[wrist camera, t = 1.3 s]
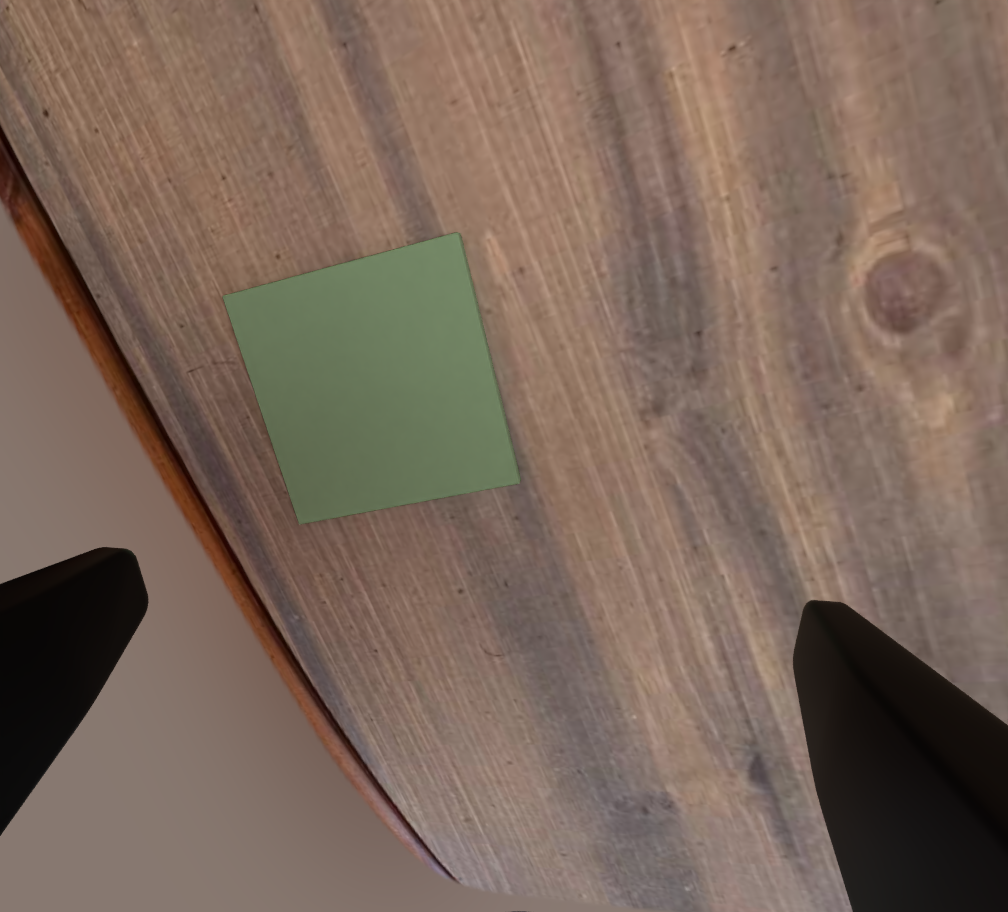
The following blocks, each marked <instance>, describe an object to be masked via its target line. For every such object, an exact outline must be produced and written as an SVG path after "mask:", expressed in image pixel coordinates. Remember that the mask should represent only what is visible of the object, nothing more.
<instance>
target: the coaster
mask: <svg viewBox="0 0 1008 912" xmlns="http://www.w3.org/2000/svg"><path fill="white" fill-rule="evenodd" d="M223 300H224V303H225V306H226V309H227V312H228V315H229V318H230V321H231V324H232V327H233V330H234V333H235V336H236V339H237V342H238V345H239V348H240V351H241V353H242V356H243V359H244V362H245V365H246V368H247V371H248V374H249V377H250V380H251V383H252V386H253V389H254V392H255V395H256V398H257V401H258V404H259V407H260V410H261V413H262V416H263V419H264V422H265V425H266V428H267V431H268V434H269V437H270V440H271V443H272V446H273V449H274V452H275V454H276V457H277V460H278V463H279V466H280V469H281V472H282V475H283V478H284V481H285V484H286V487H287V490H288V493H289V496H290V499H291V502H292V505H293V508H294V511H295V514H296V517H297V520H298V523H299V524H305V523H310V522H316V521H321V520H327V519H332V518H337V517H343V516H348V515H353V514H359V513H364V512H370V511H375V510H380V509H386V508H391V507H396V506H402V505H407V504H412V503H418V502H423V501H429V500H434V499H439V498H445V497H450V496H455V495H461V494H466V493H471V492H477V491H482V490H488V489H493V488H498V487H504V486H509V485H514V484H519V483H520V481H521V478H520V474H519V470H518V466H517V462H516V457H515V453H514V449H513V445H512V441H511V437H510V433H509V429H508V425H507V421H506V417H505V413H504V408H503V404H502V400H501V396H500V392H499V388H498V384H497V380H496V376H495V372H494V368H493V364H492V360H491V355H490V351H489V347H488V343H487V339H486V335H485V331H484V327H483V323H482V319H481V315H480V311H479V307H478V302H477V298H476V294H475V290H474V286H473V282H472V278H471V274H470V270H469V266H468V262H467V258H466V253H465V249H464V245H463V241H462V237H461V234H460V233H458V232H456V233H452V234H449V235H445V236H441V237H438V238H434V239H430V240H427V241H423V242H419V243H415V244H412V245H408V246H404V247H401V248H397V249H393V250H390V251H386V252H382V253H379V254H375V255H371V256H368V257H364V258H360V259H357V260H353V261H349V262H346V263H342V264H338V265H335V266H331V267H327V268H323V269H320V270H316V271H312V272H309V273H305V274H301V275H298V276H294V277H290V278H287V279H283V280H279V281H276V282H272V283H268V284H265V285H261V286H257V287H254V288H250V289H246V290H243V291H239V292H235V293H231V294H228V295H224V296H223Z"/></svg>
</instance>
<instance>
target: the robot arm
mask: <svg viewBox="0 0 1008 912" xmlns="http://www.w3.org/2000/svg"><path fill="white" fill-rule="evenodd" d="M147 607H148V594H147V591H146V587H145V584H144V581H143V577H142V574H141V571H140V567H139V564H138V561H137V558H136V556H135V555H134V554H133V552H132V551H130V550H128V549H123V548H109V547H102V548H97V549H94V550H91V551H89V552H86V553H83V554H80V555H78V556H75V557H73V558H70V559H67V560H64V561H62V562H59V563H56V564H54V565H51V566H48V567H45V568H43V569H40V570H37V571H34V572H32V573H29V574H26V575H24V576H21V577H18V578H15V579H13V580H10V581H7V582H5V583H2V584H0V836H1V834H2V833H3V831H4V830H5V828H6V827H7V825H8V824H9V823H10V821H11V820H12V819H13V817H14V816H15V814H16V813H17V812H18V810H19V809H20V807H21V806H22V805H23V803H24V802H25V800H26V799H27V797H28V796H29V794H30V793H31V792H32V790H33V789H34V788H35V786H36V785H37V783H38V782H39V781H40V779H41V778H42V776H43V775H44V774H45V772H46V771H47V769H48V768H49V767H50V765H51V764H52V762H53V761H54V759H55V758H56V756H57V755H58V754H59V752H60V751H61V750H62V748H63V747H64V745H65V744H66V743H67V741H68V739H69V738H70V737H71V736H72V734H73V733H74V731H75V730H76V728H77V727H78V726H79V724H80V723H81V721H82V720H83V718H84V717H85V715H86V714H87V712H88V711H89V709H90V707H91V706H92V704H93V703H94V701H95V700H96V698H97V696H98V695H99V693H100V691H101V690H102V688H103V686H104V685H105V683H106V681H107V679H108V678H109V676H110V674H111V672H112V671H113V669H114V667H115V666H116V664H117V662H118V660H119V659H120V657H121V655H122V654H123V652H124V650H125V648H126V647H127V645H128V643H129V641H130V640H131V638H132V636H133V635H134V633H135V631H136V629H137V628H138V626H139V624H140V623H141V621H142V619H143V617H144V615H145V613H146V611H147ZM793 670H794V676H795V682H796V687H797V692H798V698H799V703H800V708H801V714H802V719H803V725H804V730H805V735H806V741H807V746H808V752H809V757H810V762H811V768H812V773H813V777H814V782H815V787H816V791H817V795H818V799H819V802H820V806H821V809H822V813H823V816H824V819H825V823H826V826H827V829H828V832H829V836H830V839H831V842H832V845H833V849H834V852H835V855H836V858H837V862H838V865H839V868H840V871H841V874H842V878H843V881H844V884H845V887H846V891H847V894H848V897H849V900H850V904H851V907H852V910H853V912H1008V725H1007V724H1005V723H1004V722H1003V721H1001V720H1000V719H999V718H997V717H996V716H995V715H993V714H992V713H991V712H989V711H988V710H987V709H985V708H984V707H983V706H981V705H980V704H979V703H977V702H976V701H975V700H973V699H972V698H971V697H969V696H968V695H967V694H965V693H964V692H963V691H961V690H960V689H959V688H957V687H956V686H955V685H953V684H952V683H951V682H949V681H948V680H947V679H945V678H944V677H943V676H941V675H940V674H939V673H937V672H936V671H935V670H933V669H932V668H931V667H929V666H928V665H927V664H925V663H924V662H923V661H921V660H920V659H919V658H917V657H916V656H915V655H913V654H912V653H911V652H909V651H908V650H907V649H905V648H904V647H903V646H901V645H900V644H899V643H897V642H896V641H895V640H893V639H892V638H890V637H889V636H888V635H886V634H885V633H884V632H882V631H881V630H880V629H878V628H877V627H876V626H874V625H873V624H872V623H870V622H869V621H868V620H866V619H865V618H864V617H862V616H861V615H860V614H858V613H857V612H856V611H854V610H853V609H852V608H850V607H849V606H848V605H846V604H844V603H841V602H832V601H818V600H811V601H809V602H808V603H806V605H805V607H804V609H803V612H802V617H801V621H800V626H799V630H798V635H797V639H796V644H795V648H794V654H793Z"/></svg>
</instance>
